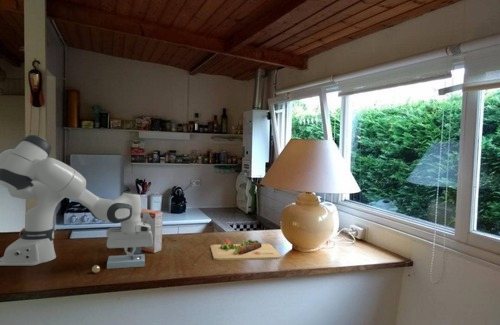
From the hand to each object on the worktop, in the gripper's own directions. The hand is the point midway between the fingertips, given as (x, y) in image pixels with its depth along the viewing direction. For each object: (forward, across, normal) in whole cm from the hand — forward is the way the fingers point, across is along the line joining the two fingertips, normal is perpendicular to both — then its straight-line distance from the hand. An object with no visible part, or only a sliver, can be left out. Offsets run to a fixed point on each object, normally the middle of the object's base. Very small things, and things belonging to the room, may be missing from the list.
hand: (129, 256), depth 158 cm
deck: (+3, -1, 0) cm, 4 cm away
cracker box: (+4, +8, +20) cm, 22 cm away
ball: (+2, +3, 0) cm, 3 cm away
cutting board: (+4, +58, +7) cm, 59 cm away
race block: (+1, +3, +9) cm, 9 cm away
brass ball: (+2, -13, -9) cm, 16 cm away
